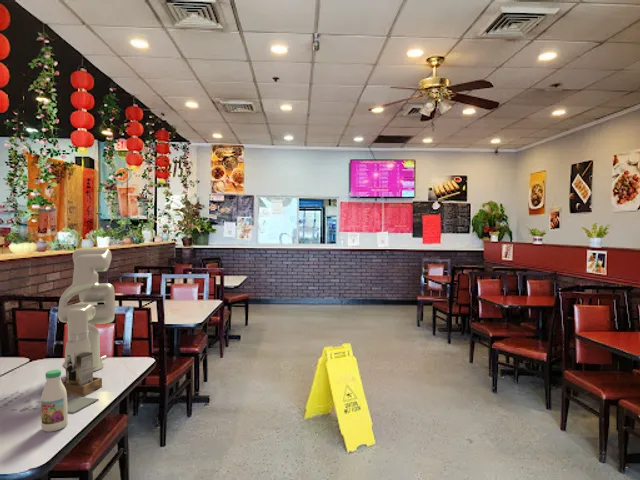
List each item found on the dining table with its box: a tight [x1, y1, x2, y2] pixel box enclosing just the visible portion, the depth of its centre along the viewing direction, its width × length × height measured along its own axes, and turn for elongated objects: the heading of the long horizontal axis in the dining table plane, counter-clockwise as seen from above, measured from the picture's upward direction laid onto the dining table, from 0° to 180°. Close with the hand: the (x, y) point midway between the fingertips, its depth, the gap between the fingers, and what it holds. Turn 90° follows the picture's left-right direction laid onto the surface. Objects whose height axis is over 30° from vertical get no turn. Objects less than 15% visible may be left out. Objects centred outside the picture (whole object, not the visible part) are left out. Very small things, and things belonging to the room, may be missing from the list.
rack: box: [62, 376, 103, 397], centre depth 178 cm, size 10×13×4 cm
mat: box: [67, 395, 99, 415], centre depth 163 cm, size 12×12×1 cm
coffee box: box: [65, 352, 94, 386], centre depth 177 cm, size 9×6×16 cm
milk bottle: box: [40, 369, 69, 433], centre depth 145 cm, size 8×8×20 cm
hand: (79, 376), depth 177 cm, fingers closed on coffee box, 6 cm apart
